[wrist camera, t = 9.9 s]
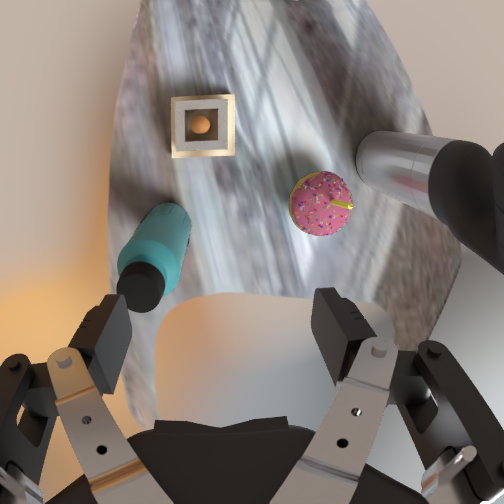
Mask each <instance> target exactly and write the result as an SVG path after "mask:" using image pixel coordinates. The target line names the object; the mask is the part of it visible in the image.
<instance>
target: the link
mask: <svg viewBox="0 0 504 504" xmlns="http://www.w3.org/2000/svg"><path fill="white" fill-rule="evenodd" d="M194 111H218V140H197V141H188V112H194ZM175 139H176V152H180V151H199V150H228V99H209V100H189V101H175Z"/></svg>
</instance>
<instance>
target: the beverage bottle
mask: <svg viewBox="0 0 504 504" xmlns="http://www.w3.org/2000/svg"><path fill="white" fill-rule="evenodd" d="M187 213H188V212H186V211H185V210H184V209H183V208H182V207H180V206H179V205H177V204H175V203H174V204H173V203H172V202H171V203H164V202H163V204H161V203H160V204H159V205H157V206H156V207H154V208H152V209H151V210H150V212H149V213H147V217H146V216H145V217H146V218H145V219H143V220H142V221H143V222H142V221H141V222H142V223H140V224H139V225H140V226H139V225H138V226H139V227H138V228H137V230H135V231H134V232H135V233H134V234H133V233H132V234H133V236H132V237H131V239H130V240H129V242H128V243H127V245H126V246H125V247H124V248H123V249H122V250H121V252H120V254H119V257H118V262H117V269H118V273H119V276H120V277H119V280H118V283H117V289H116V290H117V294H122V295H124V297H125V300H126V304H127V308H128V309H129V310H131V311H134V312H138V313H145V312H149V311H151V310H153V309H154V308H155V307H156V306H157V305H158V304H159V302H160V299H161V298H162V296H164V295H166V294H168V293H170V292H171V291H172V290H173V289H174V288H175V286H176V285H177V283H178V281H179V278H180V270H181V266H182V263H183V258H184V256H185V252H186V247H187V246H188V245H187V243H188V244H189V240H188V238H189V235H190V231H191V227H192V226H191V222H192V221H191V220H190V217H189V215H188V214H187ZM187 248H188V247H187Z"/></svg>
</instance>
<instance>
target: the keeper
mask: <svg viewBox="0 0 504 504" xmlns="http://www.w3.org/2000/svg"><path fill="white" fill-rule="evenodd" d="M209 99H228V150H199V151H180V152H176V139H175V101H189V100H209ZM197 140H218V111H194V112H188V141H197ZM171 143H172V158H182V157H202V156H232V155H235V94H225V95H197V96H182V97H171Z"/></svg>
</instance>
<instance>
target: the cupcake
mask: <svg viewBox="0 0 504 504" xmlns="http://www.w3.org/2000/svg"><path fill="white" fill-rule="evenodd" d="M353 207H355V205H354V206H353V204H352V194H351V192H350V190H349V187H348V186H347V185H346V184H345V182H344V181H343V179H342V178H340V177H338V176H337V175H336V174H334V173H332V172H328V171H322V172H316V173H311V174H309V175H307V176H305V177H303V178H301V179H300V180H299V181H298V183H297V184H296V186H295V187H294V189H293V191H292V192H291V194H290V197H289V213H290V215H291V218H292V220H293V222H294V223H295V225H296V226H297V227H298V228H299V229H301V230H302V231H304V232H306V233H308V234H312V235H315V236H327V235H332V234H333V233H335V232H337V230H340V229H341V227H342V226H343V225H344V224H345V223H347V222H346V221H347V220H348V218H349V216H350V213H351V209H352V208H353Z"/></svg>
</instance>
